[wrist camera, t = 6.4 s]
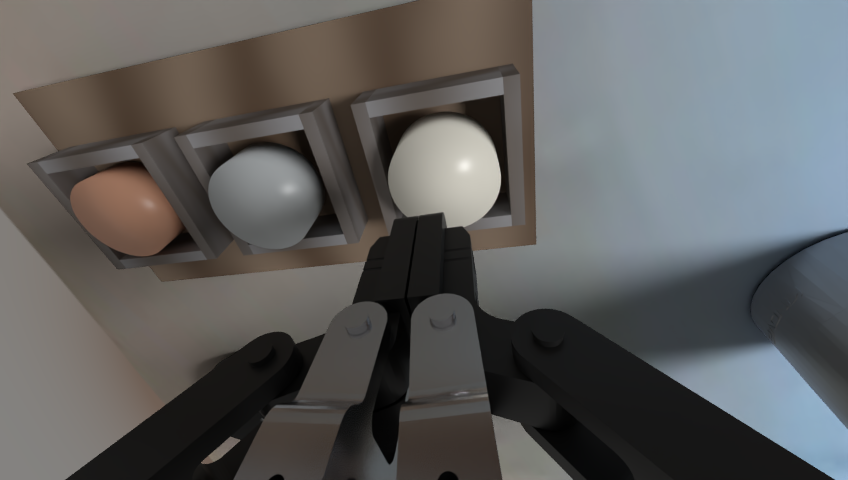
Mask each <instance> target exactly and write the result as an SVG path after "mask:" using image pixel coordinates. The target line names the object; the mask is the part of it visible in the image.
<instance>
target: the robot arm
mask: <svg viewBox="0 0 848 480" xmlns="http://www.w3.org/2000/svg"><path fill="white" fill-rule="evenodd" d="M366 260H367V262H365V266H364V269H363V270H364V272H362V275H361V278H360V281H359V284H358V288H357V291H356V294H355V297H354V300H353V303H352V305H350V306H348V307H346V308H345V309H343V310H342V311H340V312H339V313H338V314H337V315H336V316H335V317H334V318H333V320H332V321H331V323H330V325H329V327H328V329H327V332H326V333H325V334H323V335H320V336H317V337H314V338H312V339H309V340H306V341H303V342H300V343H298V344H295V343H294V341H293V339H292V338H291V337H290V335H288V334H287V333H284V332H272V333H267V334H264V335H262V336H260V337H258V338H256V339H254V340H253V341H251V342H250V343H248V344H247V345H246V346H244V347H243V348H242V349H240V350H239V351H238V352H236V353H235V354H234V355H232V356H231V357H229V358H228V359H227V360H225V361H224V362H223V363H221V364H220V365H219V366H217V367H216V368H215V369H213V370H212V371H211V372H209V373H208V374H207V375H205V376H204V377H203V378H201V379H200V380H199V381H197V382H196V383H195V384H193V385H192V386H191V387H189V388H188V389H187V390H185V391H184V392H182V393H181V394H180V395H178V396H177V397H176V398H174V399H173V400H172V401H170V402H169V403H168V404H166V405H165V406H164V407H162V408H161V409H160V410H158V411H157V412H156V413H154V414H153V415H152V416H150V417H149V418H148V419H146V420H145V421H144V422H142V423H141V424H140V425H138V426H137V427H136V428H134V429H133V430H131V431H130V432H129V433H127V434H126V435H125V436H123V437H122V438H121V439H119V440H118V441H117V442H115V443H114V444H113V445H111V446H110V447H109V448H107V449H106V450H105V451H103V452H102V453H101V454H99V455H98V456H97V457H95V458H94V459H93V460H91V461H90V462H88V463H87V464H86V465H85V466H83V467H82V468H80V469H79V470H78V471H76V472H75V473H74V474H72V475H71V476H70V477H68V478H67V479H66V480H502V474H501V468H500V462H499V456H498V450H497V445H496V439H495V433H494V427H493V421H492V415H491V414H493V415H496V416H500V417H503V418H506V419H510V420H513V421H517V422H520V423H521V425H522V426H523V428H524V429H525V431H526V432H527V433H528V434H529V435H530V436H531V437H532V438H533V439H534V440H535V441H536V442H537V443H538V444H539V445H540V446H541V447H542V448H543V449H544V450H545V451H546V452H547V453H548V454H549V455H550V456H551V457H552V458H553V459H554V460H555V461H556V462H557V463H558V464H559V465H560V466H561V467H562V468H563V469H564V471H565V472H566V473H567V474H568V475H569V476H570V477H571V478H572V479H573V480H834V479H833V478H831V477H830V476H828V475H826V474H825V473H823V472H822V471H820V470H818V469H817V468H815V467H814V466H812V465H810V464H809V463H807V462H806V461H804V460H802V459H801V458H799V457H797V456H796V455H794V454H793V453H791V452H789V451H788V450H786V449H785V448H783V447H781V446H780V445H778V444H777V443H775V442H773V441H772V440H770V439H768V438H767V437H765V436H764V435H762V434H760V433H759V432H757V431H756V430H754V429H752V428H751V427H749V426H748V425H746V424H744V423H743V422H741V421H739V420H738V419H736V418H735V417H733V416H731V415H730V414H728V413H727V412H725V411H723V410H722V409H720V408H719V407H717V406H715V405H714V404H712V403H710V402H709V401H707V400H706V399H704V398H702V397H701V396H699V395H698V394H696V393H694V392H693V391H691V390H690V389H688V388H686V387H685V386H683V385H682V384H680V383H678V382H677V381H675V380H673V379H672V378H670V377H669V376H667V375H665V374H664V373H662V372H661V371H659V370H657V369H656V368H654V367H653V366H651V365H649V364H648V363H646V362H644V361H643V360H641V359H640V358H638V357H636V356H635V355H633V354H632V353H630V352H628V351H627V350H625V349H624V348H622V347H620V346H619V345H617V344H615V343H614V342H612V341H611V340H609V339H607V338H606V337H604V336H603V335H601V334H599V333H598V332H596V331H595V330H593V329H591V328H590V327H588V326H587V325H585V324H583V323H582V322H580V321H578V320H577V319H575V318H574V317H572V316H570V315H568V314H566V313H564V312H561V311H558V310H553V309H537V310H533V311H529V312H527V313H525V314H523V315H522V316H520V317H519V318H518V319H517V320H516V321H515V322H514V321H508V320H503V319H499V318H495V317H493V316H491V315H489V314H487V313H485V312H484V311H483V310H482V309H481V308H480V307H479V303H478V291H477V279H476V270H475V264H474V257H473V251H472V244H471V238H470V234H469V233H468V232H467V231H466V230H465V229H464V227H463V226H459V227H451V228H447V225H446V219H445V215H444V212H440V213H433V214H425V215H420V216H412V217H405V218H397V219H394V221H393V225H392V229H391V233H390V236H383V237H379V238H378V240H377V241H376V242H375V243H374V244H373V245H372V246H371V247H370V250H369V253H368V256H367V259H366ZM751 316H752V318H753V320H754V322H755V324H756V325H757V326H758V328H759V329H760V330H761V331H762V332H763V333H764V334H765V336H766V337H767V338H768V339H769V340H770V341H771V342H772V343H773V345H774V346H775V347H776V348H777V349H778V350H779V351H780V353H781V354H782V355H783V356H784V357H785V358H786V359H787V360H788V362H789V363H790V364H791V365H792V366H793V367H794V368H795V370H796V371H797V372H798V373H799V374H800V376H801V377H802V378H803V379H804V380H805V381H806V382H807V384H808V385H809V386H810V387H811V388H812V389H813V390H814V392H815V393H816V394H817V395H818V396H819V397H820V398H821V399H822V401H823V402H824V403H825V404H826V405H827V406H828V407H829V409H830V410H831V411H832V412H833V413H834V414H835V415H836V416H837V418H838V419H839V420H840V421H841V422H842V423H843V424H844V426H845V427H846V428H847V429H848V232H846V233H843V234H841V235H838V236H835V237H832V238H829V239H826V240H823V241H821V242H819V243H817V244H815V245H812V246H810V247H808V248H806V249H804V250H802V251H801V252H799V253H797V254H796V255H794V256H792V257H791V258H789V259H788V260H786V261H785V262H783V263H782V264H781V265H780V266H778V267H777V268H776V269H775V270H773V271H772V272H771V273H770V274H769V275H768V276H767V278H766V279H765V280H764V281H763V282H762V283H761V284H760V286H759V287H758V289H757V291H756V292H755V294H754V296H753V299H752V303H751ZM258 412H260V413H261V415H262V416H263V417H264V418H265V419H264V420H263V421H262V422H261V423H260V424H259V425H257V426H256V427H255V428H254V429H253V430H252V431H251V432H250V433H248V434H247V435H246V436H245V437H244V438H243V439H242V440H241V441H240V442H238V443H237V444H236V445H235V446H234V447H233V448H232V449H231V450H229V451H228V452H227V453H226V454H225V455H224V456H223V457H221V458H220V459H219V460H217V461H215V462H213V463H210V464H202V463H201V462H202V461H203V460H204V459H205V458H206V457H207V456H208V455H210V454H211V453H212V452H213V451H214V450H215V449H216V448H218V447H219V446H220V445H221V444H222V443H223V442H225V441H226V440H227V439H228V438H229V437H230V436H231V435H233V434H234V433H235V432H236V431H237V430H238V429H239V428H241V427H242V426H243V425H244V424H245V423H246V422H247V421H249V420H250V419H251V418H252V417H253V416H254V415H255V414H257V413H258Z"/></svg>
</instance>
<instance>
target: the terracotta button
mask: <svg viewBox="0 0 848 480" xmlns="http://www.w3.org/2000/svg"><path fill="white" fill-rule="evenodd" d="M70 201H71V206H72V209H73V211H74V213H75V215H76V217H77V218H78V220H79V221H80V223H81V224H82V225H83V226H84V227H85V229H86V230H87V231H88V232H90V233H91V234H92V235H93V236H94V237H95V238H97V239H98V240H99V241H101V242H102V243H104V244H105V245H107V246H109V247H111V248H113V249H115V250H117V251H120V252H122V253H125V254H129V255H134V256H150V255H154V254H156V253H158V252H159V251H161V250H162V249H163V248H164V247H165V246H166V245H167V244H169V243H170V242H171V241H172V240H173V239H174V238H176V237H177V236H178V235H179V234H180V233H181V232H182V231H184V230H185V229H186V227H185V226H184V224H183V223H182V221H181V220H180V218H179V217H178V215H177V214H176V212H175V211H174V209H173V208H172V206H171V205H170V203H169V202H168V200H167V199H166V197H165V196H164V194H163V193H162V191H161V190H160V188H159V187H158V185H157V184H156V182H155V181H154V179H153V178H152V176H151V175H150V173H149V172H148V170H147V169H146V167H145V166H144V164H141V163H136V162H120V163H117V164H115V165H112V166H111V167H109V168H107V169H105V170H103V171H101V172H99V173H97V174H95V175H93V176H91V177H89V178H87V179H85V180H83V181H81V182H79V183H77V184H76V185H75V186H74V187H73V189H72V191H71V195H70Z"/></svg>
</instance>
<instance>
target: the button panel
mask: <svg viewBox="0 0 848 480" xmlns="http://www.w3.org/2000/svg"><path fill="white" fill-rule="evenodd" d="M13 94H14V96H15V97H16V98H17V99H18V101H19V102H20V103H21V104H22V106H23V107H24V108H25V110H26V111H27V112H28V113H29V115H30V116H31V117H32V118H33V120H34V121H35V122H36V123H37V125H38V126H39V127H40V129H41V130H42V131H43V132H44V134H45V135H46V136H47V137H48V139H49V140H50V141H51V142H52V144H53V145H54V146H55V148H56V149H57V150H58V152H56V153H53V154H51V155H48V156H46V157H43V158H41V159H38V160H36V161H33V162H31V163H28V164H27V165H28V166H29V167H30V168H31V169H32V170H33V172H34V173H35V174H36V175H37V176H38V177H39V179H40V180H41V181H42V182H43V183H44V184H45V185H46V187H47V188H48V189H49V190H50V191H51V192H52V194H53V195H54V196H55V197H56V198H57V199H58V201H59V202H60V203H61V204H62V205H63V206H64V208H65V209H66V210H67V211H68V212H69V213H70V215H71V216H72V217H73V218H74V219H75V220H76V222H77V223H78V224H79V225H80V226H81V227H82V229H83V230H84V231H85V232H86V233H87V234H88V236H89V237H90V238H91V239H92V240H93V241H94V243H95V244H96V245H97V246H98V247H99V248H100V250H101V251H102V252H103V253H104V254H105V255H106V257H107V258H108V259H109V260H110V261H111V262H112V264H113V265H114V266H115V267H116V268H117V269H126V268H135V267H144V266H149V267H150V268H151V269H152V270H153V272H154V273H155V274H156V275H157V277H158V278H159V279H160V280H161V282H164V281H174V280H184V279H194V278H204V277H214V276H224V275H234V274H244V273H254V272H264V271H274V270H284V269H294V268H304V267H314V266H324V265H334V264H344V263H354V262H364V261H367V260H366V259H367V256H368V253H369V250H370V247H371V246H372V245H373V244H374V243H375V242H376V241H377V240H378V238H379V237H383V236H390V233H391V229H392V225H393V221H394V219H397V218H405V217H407V216H406V215H404V214H403V213H402V212H401V210H400V209H399V208H398V207H397V205H396V204H395V202H394V200H393V198H392V196H391V193H390V190H389V185H388V171H389V167H390V163H391V160H392V158H393V155H394V153H395V151H396V148H397V146H398V143H399V141H400V139H401V137H402V135H403V133H404V132H405V131H406V130H407V128H408V127H409V126H410V125H411V124H412V123H414V122H415V121H416V120H418V119H420V118H421V117H423V116H426V115H428V114H431V113H435V112H443V111H450V112H457V113H461V114H464V115H467V116H469V117H471V118H473V119H474V120H476V121H477V122H479V123H480V124H481V125H482V126H483V127H484V128H485V129H486V130H487V132H488V133H489V135H490V136H491V138H492V140H493V142H494V145H495V149H496V153H497V158H498V162H499V167H500V173H501V185H500V190H499V194H498V197H497V199H496V201H495V203H494V204H493V206H492V208H491V209H490V210H489V211H488V212H487V213H486V214H485V215H484V216H483V217H482V218H480V219H479V220H478V221H476V222H474V223H473V224H471V225H468V226H466V227H464V229H465V230H466V231H467V232H468V233H469V234H470V238H471V244H472V251H475V250H485V249H495V248H505V247H515V246H525V245H535V244H536V207H535V147H534V87H533V27H532V0H418V1H414V2H410V3H405V4H401V5H396V6H392V7H388V8H383V9H379V10H375V11H370V12H366V13H361V14H357V15H353V16H348V17H344V18H340V19H335V20H331V21H327V22H322V23H318V24H313V25H309V26H305V27H300V28H296V29H292V30H287V31H283V32H279V33H274V34H270V35H265V36H261V37H257V38H252V39H248V40H244V41H239V42H235V43H230V44H226V45H222V46H217V47H213V48H209V49H204V50H200V51H196V52H191V53H187V54H182V55H178V56H174V57H169V58H165V59H161V60H156V61H152V62H147V63H143V64H139V65H134V66H130V67H126V68H121V69H117V70H113V71H108V72H104V73H99V74H95V75H91V76H86V77H82V78H78V79H73V80H69V81H65V82H60V83H56V84H51V85H47V86H43V87H38V88H34V89H30V90H25V91H21V92H17V93H13ZM259 142H273V143H279V144H282V145H285V146H288V147H290V148H292V149H294V150H296V151H297V152H299V153H300V154H302V155H303V156H304V157H305V158H307V159H308V160H309V161H310V162H311V164H312V165H313V166H314V167H315V169H316V170H317V171H318V173H319V175H320V177H321V179H322V182H323V185H324V189H325V202H324V205H323V208H322V210H321V212H320V213H319V215H318V217H317V218H316V220H315V221H314V223H313V225H312V226H311V228H310V229H309V231H308V232H307V234H306V235H305V237H304V238H303V239H302V240H301V241H300V242H298V243H297V244H295V245H293V246H291V247H288V248H283V249H267V248H262V247H258V246H255V245H252V244H250V243H248V242H246V241H244V240H242V239H240V238H239V237H237V236H236V235H234V234H233V233H232V232H230V231H229V230H228V229H227V228H226V227H225V226H224V225H223V224H222V223H221V221H220V220H219V219H218V217H217V216H216V214H215V212H214V211H213V209H212V206H211V203H210V200H209V194H208V187H209V182H210V179H211V176H212V175H213V173H214V172H215V171H216V170H217V169H218V168H219V167H220V166H221V165H223V164H224V163H225V162H227V161H228V160H229V159H231V158H232V157H234V156H235V155H236V154H238V153H239V152H240V151H242V150H243V149H245V148H246V147H248V146H250V145H252V144H255V143H259ZM120 162H136V163H141V164H144V166H145V167H146V169H147V170H148V172H149V173H150V175H151V176H152V178H153V179H154V181H155V182H156V184H157V185H158V187H159V188H160V190H161V191H162V193H163V194H164V196H165V197H166V199H167V200H168V202H169V203H170V205H171V206H172V208H173V209H174V211H175V212H176V214H177V215H178V217H179V218H180V220H181V221H182V223H183V224H184V226H185V227H186V229H185V230H184V231H182V232H181V233H180V234H179V235H178V236H177V237H176V238H174V239H173V240H172V241H171V242H170V243H169V244H167V245H166V246H165V247H164V248H163V249H162V250H161V251H159V252H158V253H156V254H154V255H150V256H134V255H129V254H125V253H122V252H120V251H117V250H115V249H113V248H111V247H109V246H107V245H105V244H104V243H102V242H101V241H99V240H98V239H97V238H95V237H94V236H93V235H92V234H91V233H90V232H88V231H87V230H86V229H85V227H84V226H83V225H82V224H81V223H80V221H79V220H78V218H77V217H76V215H75V213H74V211H73V209H72V206H71V201H70V195H71V191H72V189H73V187H74V186H75V185H76V184H77V183H79V182H81V181H83V180H85V179H87V178H89V177H91V176H93V175H95V174H97V173H99V172H101V171H103V170H105V169H107V168H109V167H111V166H112V165H115V164H117V163H120Z"/></svg>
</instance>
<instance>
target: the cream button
mask: <svg viewBox="0 0 848 480" xmlns="http://www.w3.org/2000/svg"><path fill="white" fill-rule="evenodd" d="M388 185H389V190H390V193H391V196H392V198H393V200H394V202H395V204H396V205H397V207H398V208H399V209H400V210H401V212H402V213H403V214H404V215H406V216H407V217H412V216H420V215H425V214H433V213H440V212H444V215H445V219H446V225H447V228H451V227H459V226H463V227H466V226H468V225H471V224H473V223H474V222H476V221H478V220H479V219H480V218H482V217H483V216H484V215H485V214H486V213H487V212H488V211H489V210H490V209H491V208H492V206H493V204H494V203H495V201H496V199H497V197H498V194H499V190H500V185H501V173H500V167H499V162H498V158H497V153H496V149H495V145H494V142H493V140H492V138H491V136H490V135H489V133H488V132H487V130H486V129H485V128H484V127H483V126H482V125H481V124H480V123H479V122H477V121H476V120H474V119H473V118H471V117H469V116H467V115H464V114H461V113H457V112H450V111H443V112H435V113H431V114H428V115H426V116H423V117H421V118H420V119H418V120H416V121H415V122H414V123H412V124H411V125H410V126H409V127H408V128H407V130H406V131H405V132H404V133H403V135H402V137H401V139H400V141H399V143H398V146H397V148H396V151H395V153H394V155H393V158H392V160H391V163H390V167H389V171H388Z"/></svg>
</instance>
